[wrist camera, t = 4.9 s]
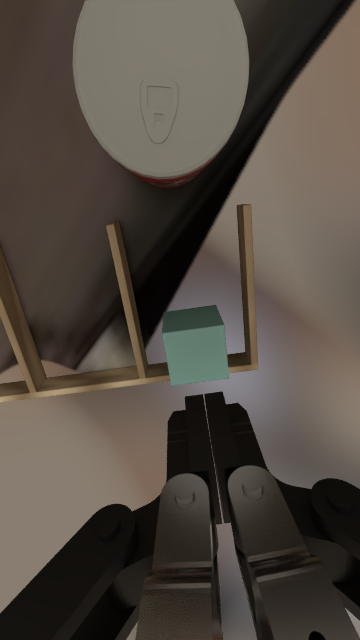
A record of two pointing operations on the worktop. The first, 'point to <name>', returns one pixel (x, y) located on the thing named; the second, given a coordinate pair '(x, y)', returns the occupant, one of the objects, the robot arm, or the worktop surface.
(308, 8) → the worktop surface
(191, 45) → the canned food
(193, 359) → the plain green block
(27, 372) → the bay rack
